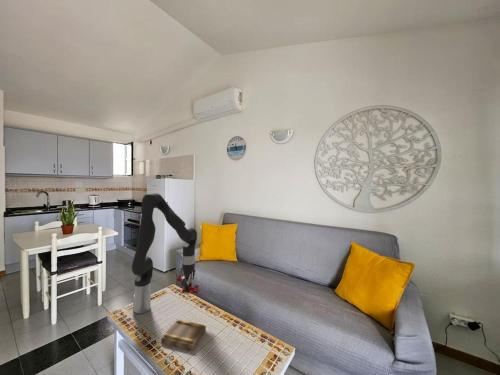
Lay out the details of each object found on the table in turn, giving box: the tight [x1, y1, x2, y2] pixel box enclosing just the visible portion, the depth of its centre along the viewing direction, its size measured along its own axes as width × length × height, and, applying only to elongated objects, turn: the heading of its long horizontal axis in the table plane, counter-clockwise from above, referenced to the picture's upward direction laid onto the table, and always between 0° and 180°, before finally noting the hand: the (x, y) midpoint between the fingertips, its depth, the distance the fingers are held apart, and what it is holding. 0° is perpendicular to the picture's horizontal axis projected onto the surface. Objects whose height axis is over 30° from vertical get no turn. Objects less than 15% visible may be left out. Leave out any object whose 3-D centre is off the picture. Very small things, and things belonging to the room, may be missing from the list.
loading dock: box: [160, 319, 207, 352], centre depth 110 cm, size 18×14×4 cm
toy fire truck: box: [175, 275, 200, 296], centre depth 125 cm, size 3×14×10 cm, turn 83°
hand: (187, 289), depth 125 cm, fingers closed on toy fire truck, 3 cm apart
